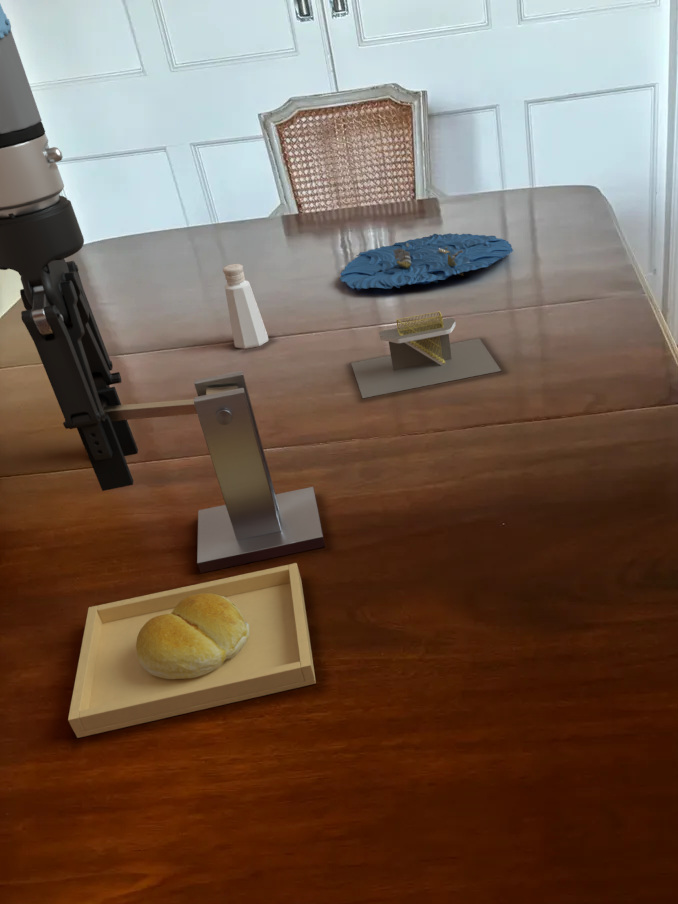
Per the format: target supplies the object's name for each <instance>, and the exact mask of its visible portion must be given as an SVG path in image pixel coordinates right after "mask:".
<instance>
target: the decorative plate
mask: <svg viewBox="0 0 678 904" xmlns="http://www.w3.org/2000/svg"><path fill="white" fill-rule="evenodd" d="M513 252H514V249H513V248H512V244H511V243H510V242H509V241H508V240H506V239H503V238H498V237H497V236H496V235H485V234H471V233H461V234H459V233H451V232H449V233H443V234H440V233H439V234H438V233H433V234H432V235H430V234H429V236H423V237H421V238H419V237H418V238H414V239H408V240H406V241H401V242H400V241H399V242H394V244H391V245H386V246H380V247H376V248H374V249H371V248H370V249H368V250H366V251H362V252H359V253H358V254H357V255H356V257H354V259H352V260H351V261H349V262H348V263H347V264H346V265H345V266H344V269H342V271H341V272H340V275H339V276H340V278H339V280H340V281H341V282H342V283H344V282H345V284H347V286H348V287H350V288H351V289H353V290H355V288H356V289H357V291H358V292H359V291H360V290H361V289H366V290H367V289H369V288H373V289H374V288H379V289H385V290H387V289H392V288H393V287H395V288H398V289H400V288H401V287H404V286H405V285H409V286H410V285H414V284H416V285H426V284H428V285H429V284H430V283H431V282H434V283H436V284H437V283H439V281H438V280H442V281H444V280H446V279H448V278H450V277H452V276H453V275H455V276H456V275H458V276H462V277H464V276H465V274H464V272H469V271H476V270H479V269H481V268H488V267H489V266H492V265H494V263H496V262H498V261H499V260H502V259H504V258H506V257H508V255H510V254H511V253H513Z"/></svg>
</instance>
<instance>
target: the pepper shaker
mask: <svg viewBox="0 0 678 904" xmlns="http://www.w3.org/2000/svg"><path fill="white" fill-rule="evenodd" d="M222 272H223V274H224V279H225V281H226V284H225V285H224V289H225V290H224V291H225V297H226V302H227V310H228V314H229V322H230V327H231V333H232V339H233V345H234V348H237V349H244V350H247V349H252V348H257V347H258V348H259V347H261V346H262V345H264V344H265V343H268V342H269V339H270V338H269V335H268V332H267V330H266V326H265V324H264V321H263V317H262V315H261V311H260V309H259V306H258V304H257V300H256V298H255V295H254V291H253V289H252V286H251V284H250V281H249V280H246V277H245V272H244V266H243V265H242V264H240V263H231V264H228V265H226V266H224V267H223V268H222Z"/></svg>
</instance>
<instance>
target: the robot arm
mask: <svg viewBox="0 0 678 904" xmlns="http://www.w3.org/2000/svg"><path fill="white" fill-rule="evenodd" d="M42 120H43V119H42V117H41V114H40V111H39V108H38V105H37V103H36V100H35V97H34V94H33V91H32V88H31V85H30V82H29V79H28V76H27V74H26V70H25V67H24V65H23V62H22V59H21V56H20V53H19V50H18V47H17V44H16V41H15V38H14V35H13V32H12V25H11V21H10V19H9V18H8V16H7V14H6V13H5V12H4V9H3V7H2V5H1V3H0V270H1V271H7V270H12V271H14V272H17V273H18V275H19V276H20V281H21V282H20V283H21V285H22V288H21V289H19V294H20V298H21V301H22V304H23V307H24V309H25V310H21V312H20V313H21V314H20V315H21V317H20V318H21V322H22V323H23V324H24V326H25V328H26V330H27V332H28V334H29V336H30V337H31V340H32V341H33V343H34V345H35V349H36V351H37V353H38V356H39V359H40V360H41V364H42V366H43V369H44V372H45V373H46V376H47V379H48V381H49V384H50V386H51V388H52V391H53V393H54V395H55V398H56V401H57V403H58V406H59V409H60V411H61V414H62V415H63V419H64V421H63V422H62V425H63V427H64V429H65V430H73V429H76V430H77V431H78V435H79V437H80V439H81V442H82V445H83V447H84V449H85V452H86V455H87V458H88V460H89V462H90V464H91V467H92V469H93V472H94V474H95V476H96V479H97V481H98V484H99V486H100V489H101V491H102V492H105V491H110V490H115V489H119V488H125V487H130V486H133V485H134V478H133V475H132V473H131V470H130V468H129V465H128V462H127V459H126V457H127V456H132V455H138V454H139V449H138V446H137V442H136V440H135V438H134V435H133V432H132V430H131V427H130V425H129V420H120V421H111V420H110V418H109V415H105V413H104V411H103V409H102V406H101V403H100V399H99V396H98V394H102V395H104V396H106V397H107V398H108V400H109V402H110V405H109V406H117V405H122V402H121V400H120V397H119V394H118V391H117V390H116V387H115V386H110V385H116V384H121V383H122V376H121V372H120V371H117V372H111V371H113V365H114V363H113V362H112V360H111V359H110V355H109V353H108V350H107V348H106V344H105V342H104V340H103V337H102V334H101V331H100V329H99V327H98V324H97V321H96V318H95V316H94V313H93V310H92V308H91V305H90V302H89V300H88V297H87V295H86V292H85V288H84V285H83V282H82V279H81V276H80V273H79V267H78V265H77V264H76V262H75V260H69V261H66V259H67V258H70V257H72V256H73V255H75V254H76V253H78V252H80V250H81V249H82V248H83V247H84V245H85V244H84V243H85V239H84V235H83V233H82V230H81V227H80V224H79V221H78V219H77V215H76V213H75V210H74V208H73V204H72V202H71V200H70V199H68V198H67V197H65V196H64V195H60V193H62V192H63V190H64V189H65V183H64V181H63V178H62V176H61V173H60V170H59V167H58V165H57V163H58V162H60V161H61V162H62V160H63V157H64V156H63V153H62V151H61V150H60V149H59V147H56V146H52V147H50V146H49V138H48V136H47V134H46V130H45V127H44V124H43V122H42Z"/></svg>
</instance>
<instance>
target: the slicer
mask: <svg viewBox="0 0 678 904" xmlns="http://www.w3.org/2000/svg"><path fill="white" fill-rule="evenodd" d="M193 384H194V388H195V391H196V394H197V396H194V397H193V399H194V404H195V408H196V411H197V414H196V415H197V417H198V420H199V424H200V427H201V431H202V433H203V436H204V440H205V444H206V447H207V449H208V453H209V455H210V459H211V462H212V465H213V468H214V473H215V475H216V479H217V482H218V485H219V488H220V491H221V495H222V497H223V501H224V504H222V505H217V506H212V507H208V508H204V509H198V510H197V547H196V548H197V552H196V555H197V556H196V558H197V559H196V564H197V567H198V570H199V573H200V574H204V573H208V572H213V571H217V570H221V569H226V568H232V567H236V566H240V565H245V564H251V563H255V562H261V561H264V560H269V559H274V558H278V557H284V556H288V555H292V554H298V553H302V552H306V551H307V552H308V551H312V550H316V549H321V548H325V547H326V544H325V539H324V534H323V528H322V523H321V522H322V521H321V517H320V512H319V506H318V501H317V496H316V493H315V488H314V486H310V487H306V488H300V489H295V490H291V491H285V492H279V493H276V491H275V487H274V483H273V480H272V476H271V472H270V467H269V464H268V461H267V458H266V454H265V451H264V447H263V443H262V438H261V435H260V431H259V428H258V424H257V420H256V416H255V413H254V408H253V405H252V402H251V398H250V397H251V396H250V395H249V390H248V386H247V383H246V379H245V375H244V372H243V370H238V371H231V372H228V373H222V374H217V375H211V376H206V377H201V378H196V379H194V383H193ZM227 386H238V389H234V390H229V391H224V392H219V393H214V394H208V395H206V388H215V387H227Z"/></svg>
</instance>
